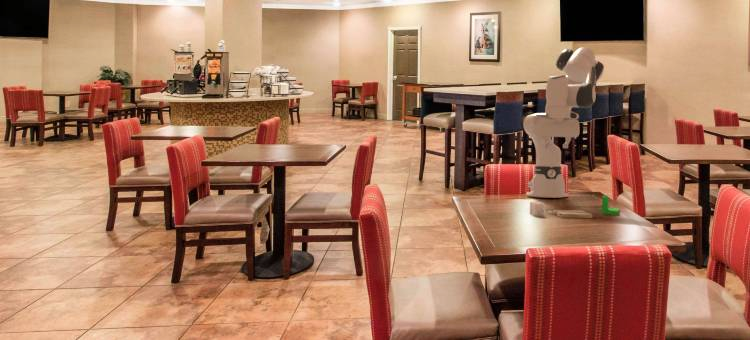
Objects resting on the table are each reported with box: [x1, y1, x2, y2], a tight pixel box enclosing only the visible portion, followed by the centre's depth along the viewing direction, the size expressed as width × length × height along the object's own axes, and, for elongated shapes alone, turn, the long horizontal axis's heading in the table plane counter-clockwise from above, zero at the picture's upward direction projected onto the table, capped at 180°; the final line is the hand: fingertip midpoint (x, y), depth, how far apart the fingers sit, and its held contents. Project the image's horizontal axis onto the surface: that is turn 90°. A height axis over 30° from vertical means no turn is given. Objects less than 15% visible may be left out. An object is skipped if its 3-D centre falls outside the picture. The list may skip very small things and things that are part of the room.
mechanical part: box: [601, 195, 620, 216], centre depth 258 cm, size 12×6×8 cm, turn 155°
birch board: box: [551, 209, 594, 219], centre depth 250 cm, size 14×12×2 cm
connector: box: [529, 201, 545, 218], centre depth 249 cm, size 12×4×5 cm, turn 179°
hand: (555, 148), depth 253 cm, fingers open, 8 cm apart
